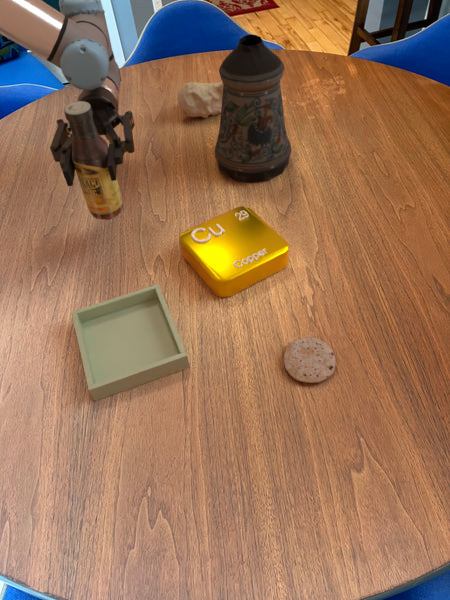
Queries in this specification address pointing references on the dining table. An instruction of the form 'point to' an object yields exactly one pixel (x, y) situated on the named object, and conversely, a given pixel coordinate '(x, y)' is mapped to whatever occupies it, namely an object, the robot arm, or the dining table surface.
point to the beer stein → (252, 114)
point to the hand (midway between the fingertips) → (89, 176)
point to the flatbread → (309, 360)
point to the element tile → (234, 251)
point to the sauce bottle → (92, 163)
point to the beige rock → (201, 99)
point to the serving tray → (128, 342)
